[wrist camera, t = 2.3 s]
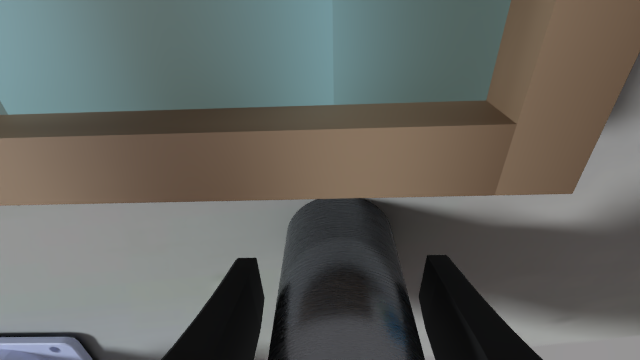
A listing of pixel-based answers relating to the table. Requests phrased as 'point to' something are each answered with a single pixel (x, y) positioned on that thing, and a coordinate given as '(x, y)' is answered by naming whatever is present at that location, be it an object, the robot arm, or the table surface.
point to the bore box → (304, 97)
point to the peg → (342, 288)
